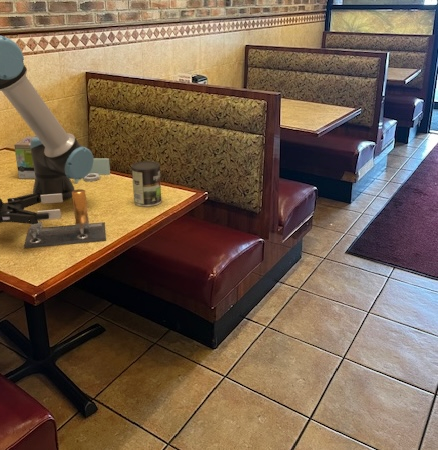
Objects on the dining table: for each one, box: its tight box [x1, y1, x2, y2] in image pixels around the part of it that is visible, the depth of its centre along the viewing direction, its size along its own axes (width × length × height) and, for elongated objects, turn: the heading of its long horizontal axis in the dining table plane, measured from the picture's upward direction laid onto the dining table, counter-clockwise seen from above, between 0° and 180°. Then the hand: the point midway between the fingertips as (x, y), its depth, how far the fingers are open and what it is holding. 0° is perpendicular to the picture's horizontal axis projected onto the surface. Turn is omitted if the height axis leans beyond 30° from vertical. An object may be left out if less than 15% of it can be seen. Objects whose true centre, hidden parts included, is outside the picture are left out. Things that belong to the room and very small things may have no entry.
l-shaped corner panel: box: [74, 157, 111, 184], centre depth 207 cm, size 12×12×8 cm
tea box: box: [13, 135, 37, 180], centre depth 211 cm, size 15×10×15 cm
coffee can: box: [130, 160, 163, 208], centre depth 182 cm, size 10×10×14 cm
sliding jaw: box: [71, 188, 90, 236], centre depth 156 cm, size 9×4×12 cm, turn 13°
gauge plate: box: [23, 221, 107, 249], centre depth 157 cm, size 12×24×4 cm, turn 103°
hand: (61, 205), depth 155 cm, fingers open, 13 cm apart
